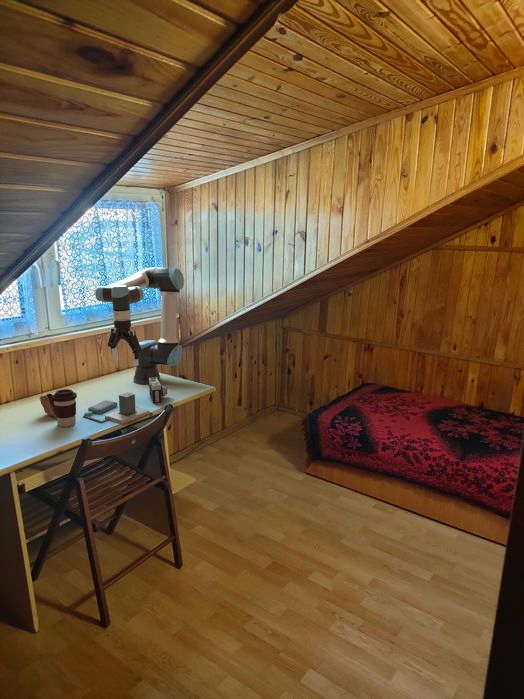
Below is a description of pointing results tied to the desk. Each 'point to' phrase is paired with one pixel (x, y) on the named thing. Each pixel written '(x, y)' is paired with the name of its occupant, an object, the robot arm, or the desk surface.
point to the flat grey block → (102, 407)
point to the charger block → (127, 404)
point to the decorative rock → (48, 404)
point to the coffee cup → (65, 407)
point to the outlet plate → (124, 419)
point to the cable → (93, 418)
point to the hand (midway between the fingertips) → (125, 363)
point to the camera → (156, 390)
